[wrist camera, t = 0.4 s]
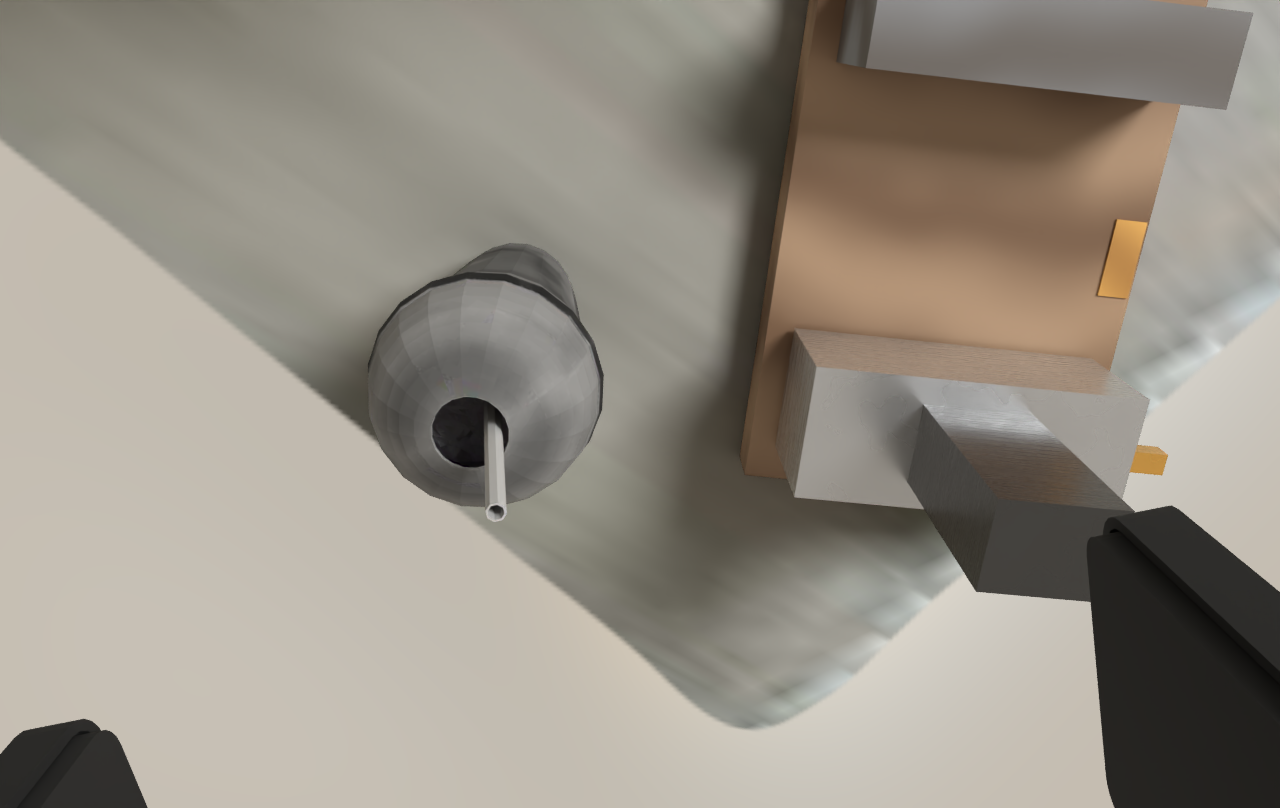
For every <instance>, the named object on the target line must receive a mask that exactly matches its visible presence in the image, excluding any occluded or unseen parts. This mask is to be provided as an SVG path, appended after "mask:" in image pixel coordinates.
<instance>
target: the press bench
mask: <svg viewBox="0 0 1280 808" xmlns="http://www.w3.org/2000/svg"><path fill="white" fill-rule="evenodd" d="M1207 2H1208V0H809V3H808V9H807V16H806V23H805V29H804V36H803V42H802V49H801V56H800V62H799V69H798V75H797V82H796V89H795V95H794V102H793V108H792V115H791V121H790V128H789V135H788V141H787V148H786V154H785V161H784V168H783V174H782V181H781V187H780V194H779V201H778V207H777V214H776V220H775V227H774V234H773V240H772V247H771V253H770V260H769V267H768V273H767V280H766V286H765V293H764V299H763V306H762V313H761V319H760V326H759V332H758V339H757V346H756V352H755V359H754V365H753V372H752V379H751V385H750V392H749V398H748V405H747V412H746V418H745V425H744V431H743V438H742V444H741V451H740V460H741V463H742V467H743V470H744V474H745V475H750V476H761V477H771V478H782V479H787V477H786V474H785V471H784V469H783V466H782V463H781V461H780V458H779V455H778V453H777V450H776V447H775V445H776V438H777V432H778V426H779V420H780V414H781V408H782V402H783V395H784V389H785V383H786V377H787V371H788V365H789V359H790V352H791V346H792V340H793V334H794V328H797V329H807V330H816V331H826V332H836V333H846V334H856V335H865V336H875V337H885V338H895V339H905V340H915V341H924V342H934V343H944V344H954V345H964V346H973V347H983V348H993V349H1003V350H1013V351H1023V352H1032V353H1042V354H1052V355H1062V356H1072V357H1081V358H1091V359H1093V360H1095V361H1096V362H1097V363H1099V364H1100V365H1102V366H1103V367H1104V368H1106V369H1107V370H1109V371H1110V368H1111V364H1112V360H1113V357H1114V353H1115V349H1116V345H1117V341H1118V338H1119V334H1120V330H1121V326H1122V323H1123V319H1124V315H1125V311H1126V308H1127V304H1128V300H1129V296H1130V292H1131V289H1132V285H1133V281H1134V277H1135V274H1136V270H1137V266H1138V262H1139V259H1140V255H1141V251H1142V247H1143V243H1144V240H1145V236H1146V232H1147V228H1148V225H1149V221H1150V217H1151V213H1152V210H1153V206H1154V202H1155V198H1156V195H1157V191H1158V187H1159V183H1160V179H1161V176H1162V172H1163V168H1164V164H1165V161H1166V157H1167V153H1168V149H1169V146H1170V142H1171V138H1172V134H1173V130H1174V127H1175V123H1176V119H1177V115H1178V112H1179V108H1180V105H1189V106H1198V107H1206V108H1215V109H1224V110H1226V109H1227V105H1228V102H1229V98H1230V95H1231V91H1232V87H1233V84H1234V80H1235V77H1236V73H1237V70H1238V66H1239V62H1240V59H1241V55H1242V52H1243V48H1244V44H1245V41H1246V37H1247V34H1248V30H1249V27H1250V23H1251V19H1252V16H1253V13H1250V12H1241V11H1233V10H1225V9H1217V8H1208V7H1206V6H1207Z"/></svg>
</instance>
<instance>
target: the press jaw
mask: <svg viewBox="0 0 1280 808" xmlns="http://www.w3.org/2000/svg"><path fill="white" fill-rule="evenodd" d="M1149 401H1150V400H1149V399H1148V398H1146V397H1145V396H1144V395H1142V394H1141V393H1139V392H1138V391H1137V390H1135V389H1134V388H1132V387H1131V386H1130V385H1128V384H1127V383H1125V382H1124V381H1123V380H1121V379H1120V378H1118V377H1117V376H1116V375H1114V374H1113V373H1111V372H1110V371H1109V370H1107V369H1106V368H1104V367H1103V366H1102V365H1100V364H1099V363H1097V362H1096V361H1095V360H1093V359H1091V358H1081V357H1072V356H1062V355H1052V354H1042V353H1032V352H1023V351H1013V350H1003V349H993V348H983V347H973V346H964V345H954V344H944V343H934V342H924V341H915V340H905V339H895V338H885V337H875V336H865V335H856V334H846V333H836V332H826V331H816V330H807V329H797V328H794V334H793V340H792V346H791V352H790V359H789V365H788V371H787V377H786V383H785V389H784V395H783V402H782V408H781V414H780V420H779V426H778V432H777V438H776V445H775V447H776V450H777V453H778V455H779V458H780V461H781V463H782V466H783V469H784V471H785V474H786V477H787V479H788V482H789V485H790V487H791V490H792V493H793V495H794V497H796V498H807V499H818V500H829V501H839V502H850V503H861V504H872V505H883V506H893V507H904V508H915V509H924V510H925V511H926V513H927V514H928V516H929V518H930V519H931V521H932V522H933V524H934V525H935V527H936V529H937V530H938V532H939V533H940V535H941V537H942V538H943V540H944V541H945V543H946V545H947V546H948V548H949V549H950V551H951V552H952V554H953V556H954V557H955V559H956V560H957V562H958V564H959V565H960V567H961V568H962V570H963V572H964V573H965V575H966V576H967V578H968V579H969V581H970V583H971V584H972V586H973V587H974V589H975V590H976V592H986V593H997V594H1008V595H1020V596H1031V597H1042V598H1053V599H1065V600H1076V601H1088V602H1091V600H1090V588H1089V577H1088V566H1087V548H1086V547H1087V542H1088V540H1089V538H1090V537H1094V536H1100V535H1103V529H1104V524H1105V522H1106V520H1107V519H1108V518H1110V517H1115V516H1120V515H1125V514H1130V513H1134V512H1135V511H1134V510H1133V509H1131V508H1130V507H1129V506H1128V505H1127V504H1126V503H1125V502H1124V501H1123V500H1122V497H1123V494H1124V490H1125V487H1126V483H1127V479H1128V476H1129V473H1130V472H1134V473H1144V474H1154V475H1162V474H1163V471H1164V467H1165V464H1166V460H1167V457H1168V455H1167V454H1166V453H1165V452H1163V451H1162V450H1161V449H1160V448H1158V447H1152V446H1142V445H1137V444H1138V440H1139V437H1140V433H1141V430H1142V426H1143V423H1144V419H1145V416H1146V412H1147V408H1148V405H1149Z"/></svg>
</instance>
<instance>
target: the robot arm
mask: <svg viewBox="0 0 1280 808" xmlns="http://www.w3.org/2000/svg"><path fill="white" fill-rule="evenodd" d="M1086 548H1087V566H1088V577H1089V588H1090V600H1091V611H1092V622H1093V634H1094V645H1095V656H1096V667H1097V678H1098V689H1099V700H1100V713H1101V724H1102V736H1103V746H1104V757H1105V770H1106V779H1107V785H1108V789H1109V793H1110V796H1111V799H1112V802H1113V805H1114V807H1115V808H1280V592H1279V591H1278V590H1276V589H1275V588H1274V587H1273V586H1272V585H1270V584H1269V583H1268V582H1267V581H1266V580H1264V579H1263V578H1262V577H1261V576H1259V575H1258V574H1257V573H1256V572H1254V571H1253V570H1252V569H1251V568H1250V567H1248V566H1247V565H1246V564H1245V563H1244V562H1242V561H1241V560H1240V559H1238V558H1237V557H1236V556H1235V555H1234V554H1233V553H1231V552H1230V551H1229V550H1228V549H1226V548H1225V547H1224V546H1223V545H1222V544H1220V543H1219V542H1218V541H1217V540H1215V539H1214V538H1213V537H1212V536H1211V535H1209V534H1208V533H1207V532H1205V531H1204V530H1203V529H1202V528H1201V527H1200V526H1198V525H1197V524H1196V523H1195V522H1193V521H1192V520H1191V519H1190V518H1189V517H1187V516H1186V515H1185V514H1184V513H1183V512H1181V511H1180V510H1179V509H1177V508H1175V507H1173V506H1166V507H1161V508H1156V509H1151V510H1146V511H1140V512H1136V513H1130V514H1125V515H1120V516H1115V517H1110V518H1108V519H1107V520H1106V522H1105V524H1104V529H1103V535H1100V536H1094V537H1090V538H1089V540H1088V542H1087V547H1086ZM0 808H147V805H146V803H145V800H144V798H143V796H142V793H141V791H140V789H139V786H138V784H137V781H136V779H135V777H134V774H133V772H132V770H131V767H130V765H129V762H128V760H127V758H126V756H125V753H124V751H123V748H122V746H121V744H120V742H119V740H118V738H117V737H116V736H115V735H114V734H113V733H112V732H110V731H107V730H103V731H101V730H100V728H99V727H98V726H97V725H96V724H95V723H93V722H92V721H90V720H86V719H81V720H76V721H71V722H66V723H60V724H55V725H50V726H45V727H40V728H35V729H30V730H26V731H23V732H21V733H20V734H19V735H18V736H16V737H15V738H14V739H13V740H12V741H11V743H10V744H9V745H8V746H7V747H6V748H5V750H4V751H3V752H2V753H1V754H0Z"/></svg>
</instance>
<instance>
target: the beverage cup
mask: <svg viewBox="0 0 1280 808" xmlns="http://www.w3.org/2000/svg"><path fill="white" fill-rule="evenodd" d="M603 377H604V375H603V371H602V368H601V364H600V361H599V358H598V354H597V351H596V347H595V344H594V341H593V339H592V338H591V336H590V335H589V333H588V332H587V330H586V329H585V328H584V326H583V325H582V323H581V322H580V318H579V313H578V308H577V303H576V299H575V296H574V292H573V289H572V285H571V282H570V281H569V279H568V275H567V274H566V273H565V271H564V270H563V268H562V267H561V265H560V264H559V262H558V261H557V260H555V259H554V258H553V257H552V256H550V255H549V254H548V253H547V252H545V251H544V250H541V249H539V248H536V247H533V246H531V245H528V244H512V243H509V244H505V245H502V246H498V247H494V248H492V249H490V250H489V251H486V252H484V253H483V254H481V255H480V256H478V257H477V258H475V259H474V260H472V261H471V262H469V263H468V264H467V265H466V266H464V267H463V268H462V269H461V270H459V271H458V272H457V273H456V274H455V275H453V276H451V277H447V278H443V279H440V280H436V281H432V282H430V283H429V284H427V285H426V286H424V287H423V288H421V289H420V290H418V291H417V292H415V293H414V294H412V295H411V296H409V297H408V298H406V299H405V300H403V301H401V302H400V304H399V305H398V306H397V307H396V309H395V310H394V311H393V313H392V314H391V315H390V317H389V318H388V319H387V321H386V322H385V323H384V325H383V326H382V327H381V329H380V330H379V332H378V335H377V338H376V341H375V344H374V347H373V351H372V354H371V357H370V360H369V363H368V398H369V417H370V420H371V422H372V425H373V428H374V431H375V433H376V436H377V439H378V441H379V444H380V447H381V449H382V450H383V452H384V453H385V454H386V456H387V457H388V458H389V459H390V461H391V462H392V463H393V464H394V466H395V467H396V468H397V470H398V471H399V472H400V473H401V475H402V476H403V477H404V478H406V479H407V480H408V481H410V482H411V483H413V484H414V485H416V486H417V487H419V488H420V489H422V490H423V491H424V492H426V493H427V494H429V495H430V496H433V497H436V498H439V499H442V500H445V501H448V502H451V503H454V504H457V505H460V506H473V507H485V512H486V515H487V518H488V519H490V520H492V521H493V522H496V521H501V520H503V518H504V517H505V516H506V514H507V509H506V504H509V503H513V502H517V501H521V500H525V499H527V498H530V497H531V496H533V495H534V494H536V493H538V492H539V491H541V490H543V489H544V488H546V487H547V486H549V485H551V484H552V483H554V482H556V481H557V480H558V479H559V478H560V477H561V476H562V474H563V473H564V472H565V471H566V470H567V469H568V467H569V466H570V465H571V464H572V463H573V462H574V460H575V459H576V458H577V457H578V456H579V454H580V453H581V452H582V451H583V449H584V447H585V446H586V445H587V444H588V443H589V441H590V439H591V436H592V434H593V431H594V429H595V426H596V424H597V421H598V419H599V416H600V414H601V411H602V399H603Z"/></svg>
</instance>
